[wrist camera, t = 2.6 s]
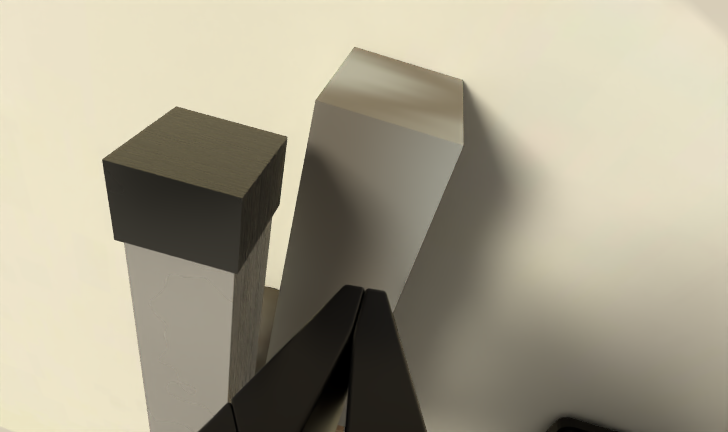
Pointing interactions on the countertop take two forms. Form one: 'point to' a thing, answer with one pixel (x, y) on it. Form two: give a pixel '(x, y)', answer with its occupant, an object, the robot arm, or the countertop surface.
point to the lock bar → (195, 256)
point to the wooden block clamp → (365, 188)
